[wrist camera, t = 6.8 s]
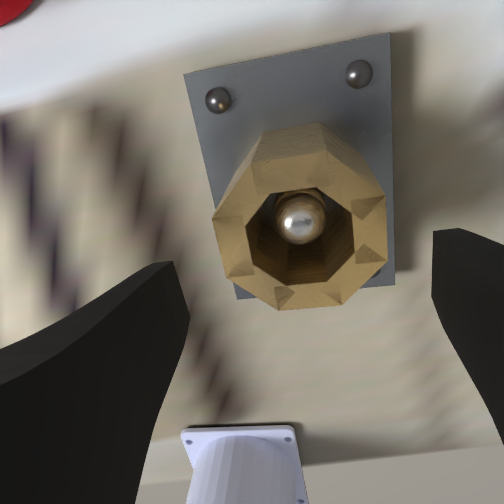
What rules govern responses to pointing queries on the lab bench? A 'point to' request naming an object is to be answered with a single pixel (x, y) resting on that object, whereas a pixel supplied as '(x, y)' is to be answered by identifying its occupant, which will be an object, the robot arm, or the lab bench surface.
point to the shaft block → (296, 114)
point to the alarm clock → (12, 9)
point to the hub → (320, 250)
